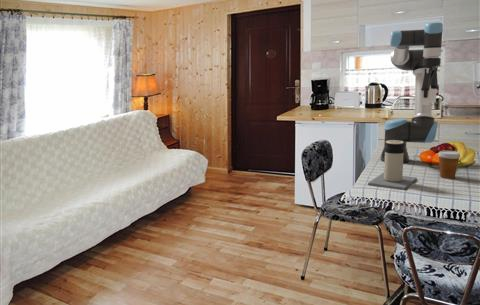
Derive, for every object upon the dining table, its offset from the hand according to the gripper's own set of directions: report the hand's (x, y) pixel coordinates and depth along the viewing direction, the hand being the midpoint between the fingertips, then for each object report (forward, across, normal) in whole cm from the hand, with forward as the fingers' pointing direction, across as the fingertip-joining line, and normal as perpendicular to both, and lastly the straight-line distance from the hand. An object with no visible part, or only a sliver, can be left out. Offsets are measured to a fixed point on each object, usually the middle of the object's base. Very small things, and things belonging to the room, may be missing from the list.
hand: (429, 103), depth 198 cm
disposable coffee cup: (+35, +1, -10) cm, 36 cm away
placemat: (+35, -21, +9) cm, 41 cm away
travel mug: (+34, -21, +9) cm, 41 cm away
